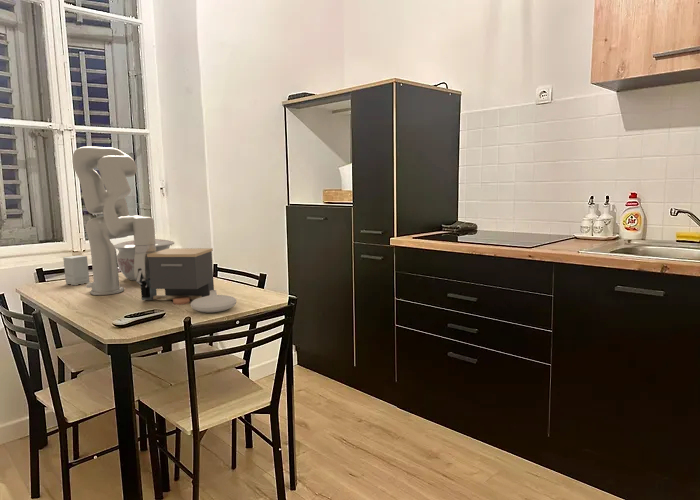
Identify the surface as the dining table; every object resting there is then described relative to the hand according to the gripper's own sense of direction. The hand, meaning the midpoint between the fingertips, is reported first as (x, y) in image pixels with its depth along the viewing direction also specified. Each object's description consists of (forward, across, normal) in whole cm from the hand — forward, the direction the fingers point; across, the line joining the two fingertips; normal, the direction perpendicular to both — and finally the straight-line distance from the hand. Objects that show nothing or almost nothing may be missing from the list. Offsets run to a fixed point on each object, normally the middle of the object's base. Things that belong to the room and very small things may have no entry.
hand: (149, 295), depth 194 cm
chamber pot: (+2, -42, -25) cm, 49 cm away
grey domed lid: (+2, +14, +32) cm, 35 cm away
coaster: (+2, +4, +15) cm, 16 cm away
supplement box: (+2, -30, -52) cm, 60 cm away
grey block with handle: (+1, 0, +10) cm, 10 cm away
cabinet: (+2, 0, +14) cm, 14 cm away
